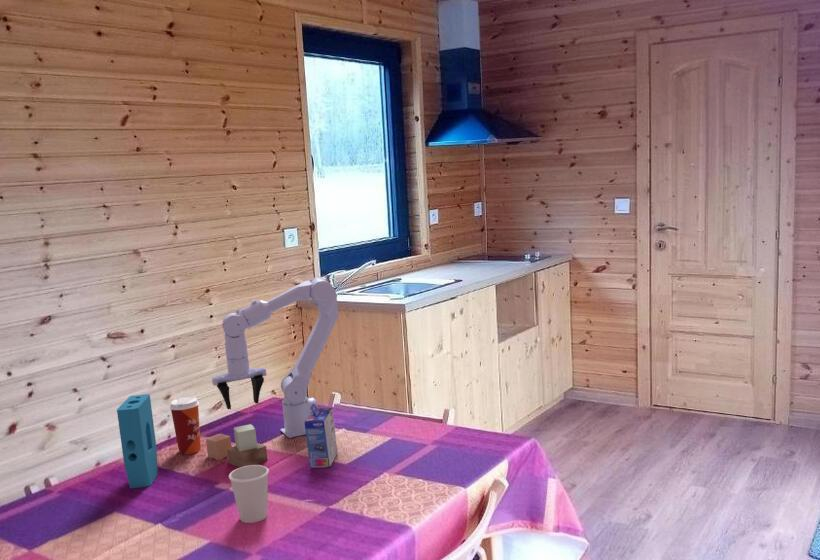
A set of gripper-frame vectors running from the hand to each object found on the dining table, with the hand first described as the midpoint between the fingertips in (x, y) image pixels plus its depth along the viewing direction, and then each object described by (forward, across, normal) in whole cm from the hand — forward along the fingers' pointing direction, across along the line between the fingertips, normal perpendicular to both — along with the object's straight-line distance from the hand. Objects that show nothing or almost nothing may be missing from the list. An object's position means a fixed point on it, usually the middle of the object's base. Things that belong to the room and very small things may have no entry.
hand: (242, 405), depth 211 cm
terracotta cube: (+10, -9, -7) cm, 15 cm away
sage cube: (+6, -4, -16) cm, 18 cm away
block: (+10, -29, -12) cm, 33 cm away
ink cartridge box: (+10, +12, -28) cm, 32 cm away
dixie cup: (+10, -12, -49) cm, 51 cm away
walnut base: (+10, -4, -16) cm, 20 cm away
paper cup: (+10, -15, +2) cm, 18 cm away
